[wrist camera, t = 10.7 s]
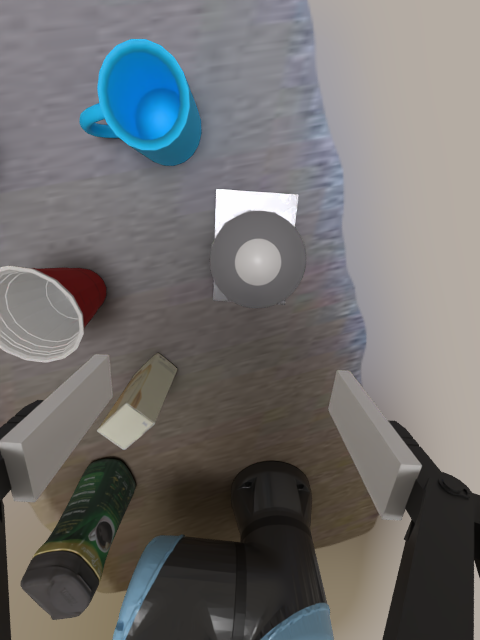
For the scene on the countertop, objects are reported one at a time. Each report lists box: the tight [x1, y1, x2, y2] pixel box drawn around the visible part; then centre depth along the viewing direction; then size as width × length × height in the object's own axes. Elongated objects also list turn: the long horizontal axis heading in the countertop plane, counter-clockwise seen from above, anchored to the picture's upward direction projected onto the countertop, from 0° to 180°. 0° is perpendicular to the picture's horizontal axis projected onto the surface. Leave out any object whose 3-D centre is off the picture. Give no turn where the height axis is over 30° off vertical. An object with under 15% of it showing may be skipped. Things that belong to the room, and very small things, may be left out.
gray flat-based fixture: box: [213, 189, 299, 305], centre depth 32 cm, size 14×10×10 cm
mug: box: [80, 39, 201, 166], centre depth 28 cm, size 12×8×8 cm
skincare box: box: [97, 353, 177, 450], centre depth 38 cm, size 6×4×12 cm
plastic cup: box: [0, 266, 106, 362], centre depth 33 cm, size 11×11×12 cm
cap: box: [210, 210, 306, 308], centre depth 28 cm, size 9×9×4 cm
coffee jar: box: [21, 459, 136, 620], centre depth 43 cm, size 10×8×19 cm
